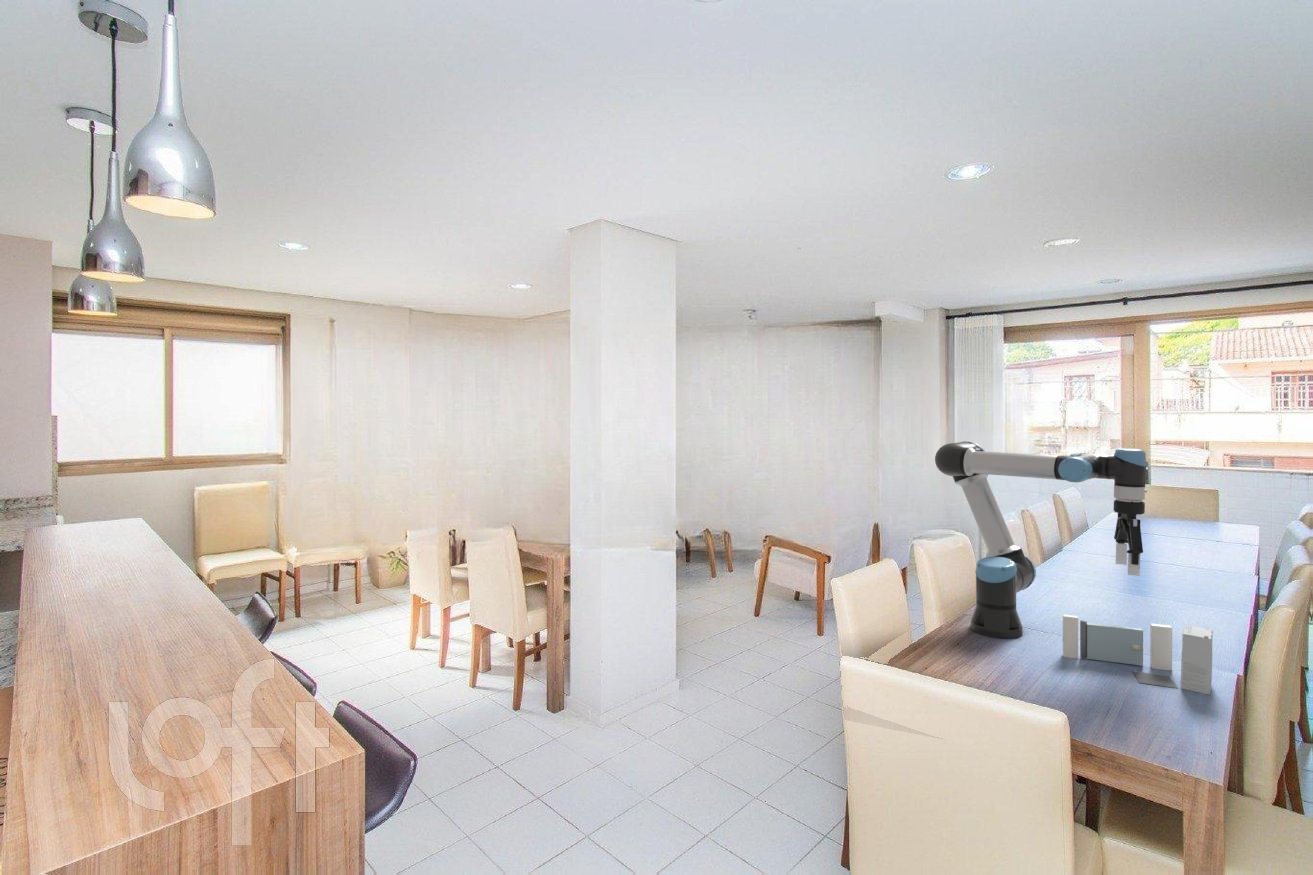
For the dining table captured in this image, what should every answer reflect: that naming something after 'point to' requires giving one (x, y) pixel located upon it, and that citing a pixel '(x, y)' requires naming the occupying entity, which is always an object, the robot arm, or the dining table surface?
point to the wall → (1158, 642)
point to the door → (1111, 643)
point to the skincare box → (1196, 659)
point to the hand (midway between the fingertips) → (1127, 569)
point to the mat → (1154, 679)
